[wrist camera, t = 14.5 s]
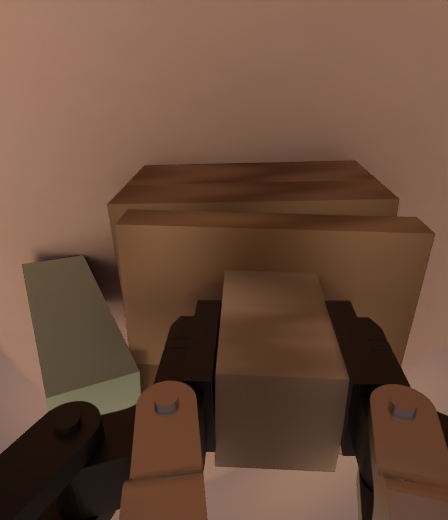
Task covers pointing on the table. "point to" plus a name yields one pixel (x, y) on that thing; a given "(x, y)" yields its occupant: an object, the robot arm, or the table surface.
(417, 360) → the table surface
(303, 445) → the lid
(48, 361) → the green square block
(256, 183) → the box
